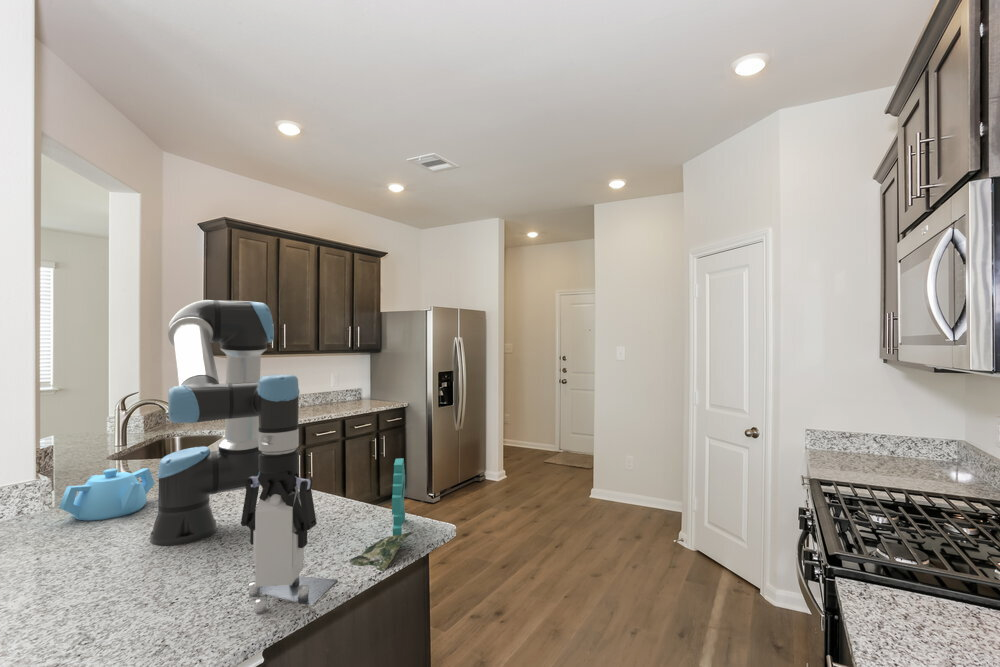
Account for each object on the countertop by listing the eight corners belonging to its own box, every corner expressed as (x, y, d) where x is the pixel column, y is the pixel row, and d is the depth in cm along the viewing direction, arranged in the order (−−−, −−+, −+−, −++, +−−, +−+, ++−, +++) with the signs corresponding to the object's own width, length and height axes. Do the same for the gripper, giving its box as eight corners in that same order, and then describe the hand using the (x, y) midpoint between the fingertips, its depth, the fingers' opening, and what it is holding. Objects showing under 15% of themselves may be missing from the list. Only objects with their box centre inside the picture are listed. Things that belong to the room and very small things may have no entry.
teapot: (56, 529, 136) (57, 480, 136) (87, 507, 154) (88, 464, 154) (137, 520, 143) (138, 474, 143) (158, 500, 161) (158, 459, 161)
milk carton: (269, 570, 102) (269, 481, 102) (303, 568, 103) (303, 480, 103) (255, 587, 95) (255, 491, 95) (291, 585, 96) (291, 490, 96)
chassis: (210, 625, 91) (210, 604, 91) (267, 579, 108) (267, 562, 108) (292, 634, 88) (292, 612, 88) (337, 586, 105) (337, 568, 105)
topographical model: (366, 542, 128) (364, 533, 128) (415, 538, 123) (413, 529, 123) (328, 578, 113) (326, 568, 113) (383, 575, 108) (380, 565, 108)
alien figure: (400, 548, 124) (400, 471, 124) (391, 549, 123) (391, 471, 124) (405, 519, 144) (405, 452, 144) (397, 519, 143) (397, 452, 143)
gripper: (219, 452, 96) (219, 566, 96) (315, 456, 93) (315, 574, 93) (245, 444, 104) (245, 549, 103) (335, 447, 100) (335, 556, 100)
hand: (278, 561), depth 98 cm, fingers closed on milk carton, 8 cm apart
